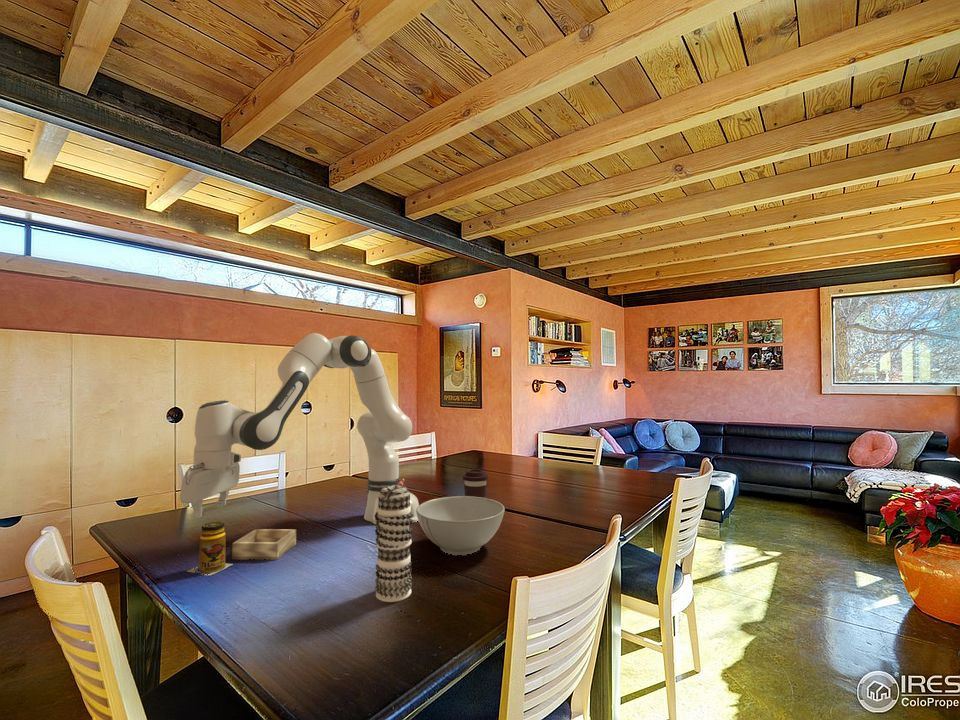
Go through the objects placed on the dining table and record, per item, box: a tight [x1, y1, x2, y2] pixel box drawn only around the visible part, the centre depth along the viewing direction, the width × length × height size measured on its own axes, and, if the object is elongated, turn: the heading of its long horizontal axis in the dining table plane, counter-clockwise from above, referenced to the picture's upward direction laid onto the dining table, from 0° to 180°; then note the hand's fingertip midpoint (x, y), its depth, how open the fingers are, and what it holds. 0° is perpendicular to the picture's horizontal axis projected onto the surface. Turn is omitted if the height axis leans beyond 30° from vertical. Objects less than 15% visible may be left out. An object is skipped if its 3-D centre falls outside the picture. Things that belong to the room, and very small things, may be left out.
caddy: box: [231, 528, 297, 561], centre depth 131 cm, size 13×12×4 cm
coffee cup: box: [462, 468, 489, 498], centre depth 174 cm, size 10×10×15 cm
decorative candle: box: [374, 485, 414, 603], centre depth 106 cm, size 9×9×25 cm
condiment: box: [186, 521, 234, 576], centre depth 120 cm, size 7×8×12 cm
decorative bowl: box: [416, 495, 506, 556], centre depth 134 cm, size 27×27×12 cm
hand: (210, 511), depth 120 cm, fingers open, 8 cm apart
